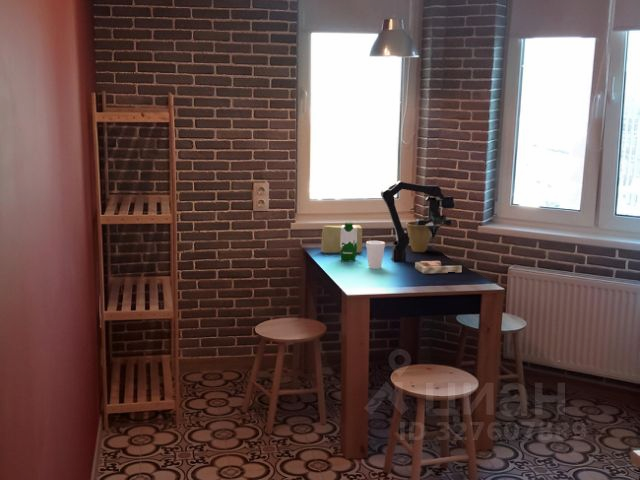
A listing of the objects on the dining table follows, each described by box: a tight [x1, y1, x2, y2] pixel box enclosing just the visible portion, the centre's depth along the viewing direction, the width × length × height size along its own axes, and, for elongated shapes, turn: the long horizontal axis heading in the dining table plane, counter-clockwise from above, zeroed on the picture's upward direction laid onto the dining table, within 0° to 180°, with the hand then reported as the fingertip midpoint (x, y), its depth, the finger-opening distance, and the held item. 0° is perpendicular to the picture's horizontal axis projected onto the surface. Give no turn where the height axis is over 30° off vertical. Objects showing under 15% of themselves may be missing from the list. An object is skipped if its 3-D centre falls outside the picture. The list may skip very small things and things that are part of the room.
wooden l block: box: [414, 261, 463, 275], centre depth 390 cm, size 20×13×3 cm, turn 101°
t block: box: [419, 260, 442, 267], centre depth 390 cm, size 10×10×4 cm
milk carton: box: [340, 222, 357, 262], centre depth 411 cm, size 9×9×20 cm
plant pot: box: [406, 220, 432, 253], centre depth 437 cm, size 15×15×16 cm
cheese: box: [320, 224, 363, 254], centre depth 432 cm, size 22×10×15 cm, turn 99°
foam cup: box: [365, 240, 386, 270], centre depth 393 cm, size 10×9×13 cm
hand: (432, 238), depth 411 cm, fingers closed
